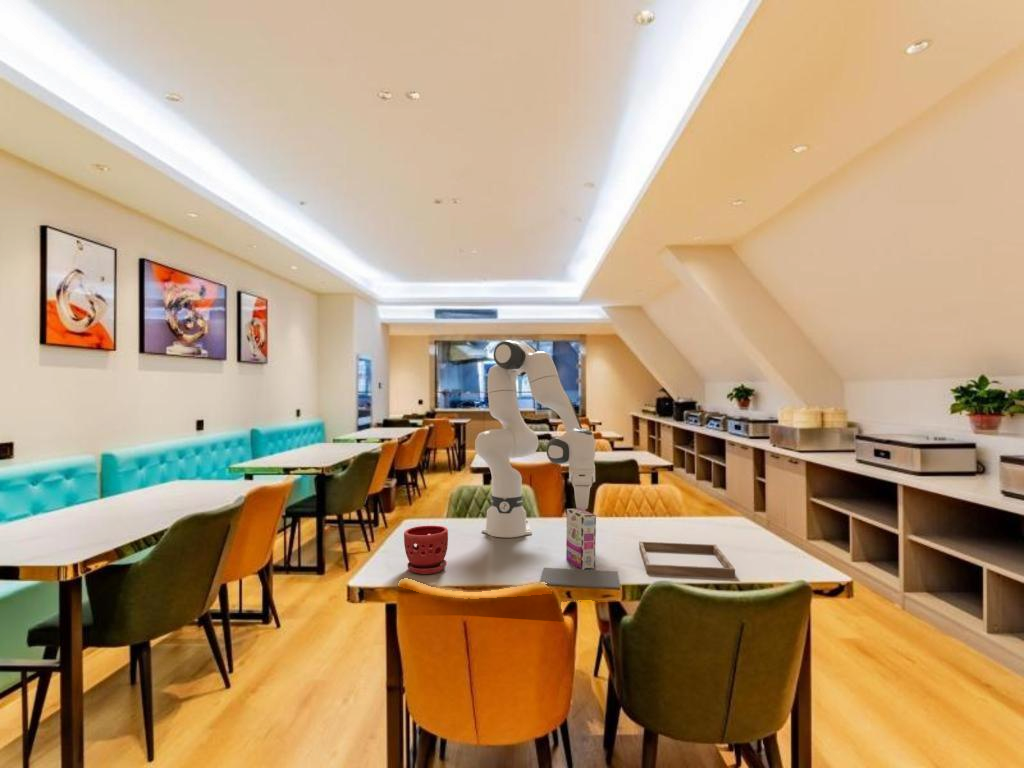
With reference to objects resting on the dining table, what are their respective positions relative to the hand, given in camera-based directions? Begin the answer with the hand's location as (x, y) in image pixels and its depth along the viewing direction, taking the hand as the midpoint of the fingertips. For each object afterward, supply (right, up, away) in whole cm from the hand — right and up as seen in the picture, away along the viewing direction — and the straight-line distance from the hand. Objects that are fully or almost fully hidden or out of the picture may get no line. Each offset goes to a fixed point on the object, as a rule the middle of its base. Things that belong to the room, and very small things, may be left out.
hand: (582, 516), depth 189 cm
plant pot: (-50, -11, -22) cm, 56 cm away
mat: (-4, -11, -30) cm, 32 cm away
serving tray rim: (+30, -11, -14) cm, 35 cm away
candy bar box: (-3, -11, -17) cm, 20 cm away
